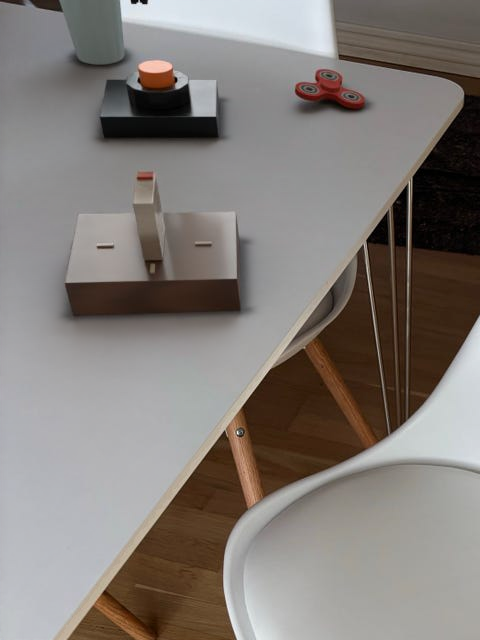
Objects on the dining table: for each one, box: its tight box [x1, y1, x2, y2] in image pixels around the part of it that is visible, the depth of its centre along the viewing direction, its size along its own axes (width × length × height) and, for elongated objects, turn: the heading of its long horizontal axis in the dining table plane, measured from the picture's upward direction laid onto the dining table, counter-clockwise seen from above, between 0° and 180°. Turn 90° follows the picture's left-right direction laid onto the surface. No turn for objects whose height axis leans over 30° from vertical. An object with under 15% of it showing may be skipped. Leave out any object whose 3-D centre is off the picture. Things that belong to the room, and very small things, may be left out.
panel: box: [64, 211, 242, 316], centre depth 90 cm, size 14×12×3 cm
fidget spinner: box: [294, 68, 366, 110], centre depth 118 cm, size 8×7×1 cm
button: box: [137, 59, 175, 88], centre depth 109 cm, size 4×4×2 cm
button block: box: [99, 69, 220, 139], centre depth 111 cm, size 12×10×4 cm
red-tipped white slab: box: [132, 171, 165, 260], centre depth 87 cm, size 6×2×5 cm, turn 9°
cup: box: [58, 0, 125, 66], centre depth 119 cm, size 8×8×10 cm
